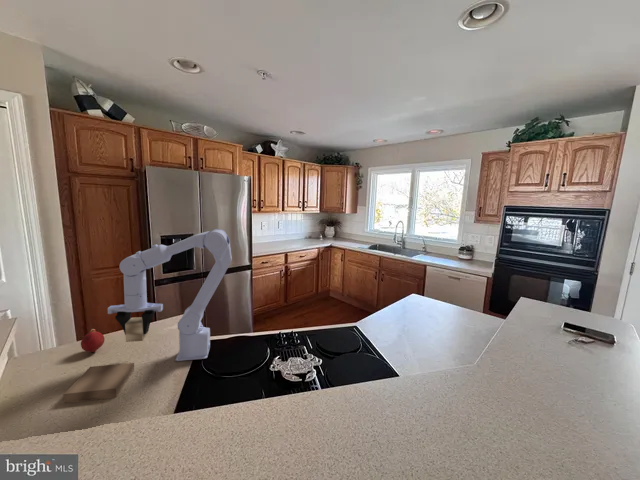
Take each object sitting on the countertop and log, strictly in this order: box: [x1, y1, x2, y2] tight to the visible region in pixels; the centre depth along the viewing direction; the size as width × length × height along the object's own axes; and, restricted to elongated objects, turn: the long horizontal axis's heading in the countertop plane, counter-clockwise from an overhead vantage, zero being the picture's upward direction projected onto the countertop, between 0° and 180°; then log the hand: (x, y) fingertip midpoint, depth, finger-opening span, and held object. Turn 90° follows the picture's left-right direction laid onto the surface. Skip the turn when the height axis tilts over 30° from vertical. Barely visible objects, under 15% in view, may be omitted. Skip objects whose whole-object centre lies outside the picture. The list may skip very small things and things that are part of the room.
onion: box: [80, 328, 106, 353], centre depth 84 cm, size 6×6×8 cm
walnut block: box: [63, 362, 135, 404], centre depth 70 cm, size 11×11×3 cm
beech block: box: [124, 316, 149, 343], centre depth 82 cm, size 4×4×6 cm
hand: (137, 333), depth 82 cm, fingers closed on beech block, 4 cm apart
